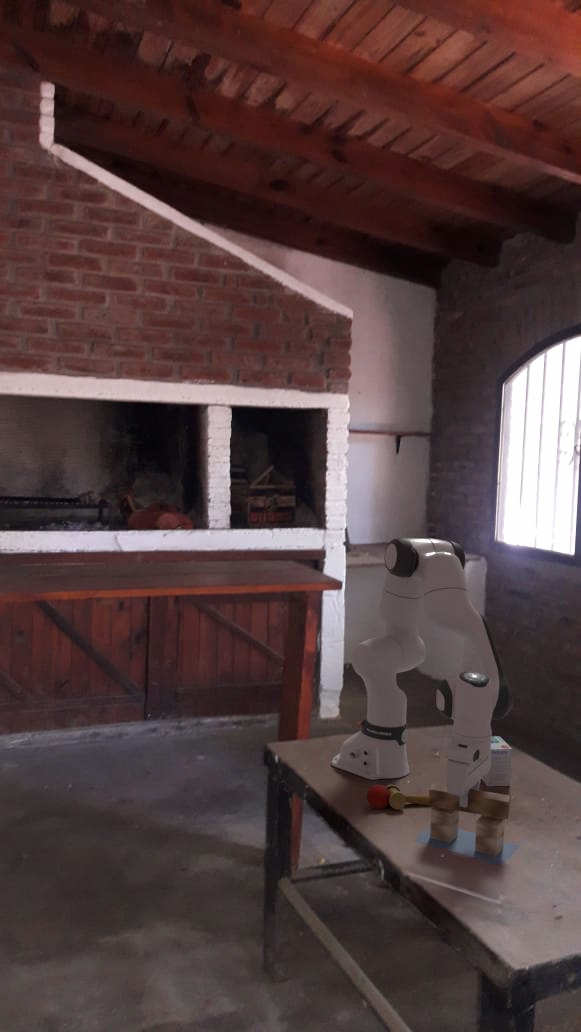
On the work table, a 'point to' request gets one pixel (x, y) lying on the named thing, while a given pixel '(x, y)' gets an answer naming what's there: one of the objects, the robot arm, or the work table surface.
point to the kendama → (392, 797)
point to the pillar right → (489, 835)
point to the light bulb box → (499, 763)
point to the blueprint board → (468, 846)
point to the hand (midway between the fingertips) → (468, 801)
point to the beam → (471, 801)
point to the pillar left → (444, 824)
